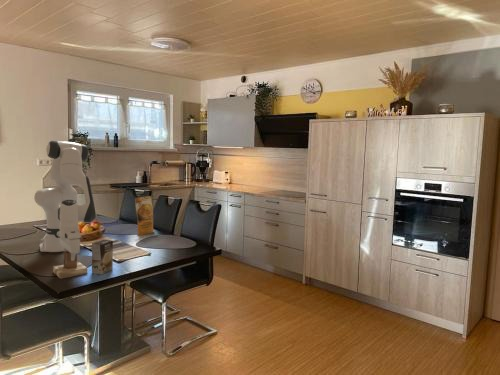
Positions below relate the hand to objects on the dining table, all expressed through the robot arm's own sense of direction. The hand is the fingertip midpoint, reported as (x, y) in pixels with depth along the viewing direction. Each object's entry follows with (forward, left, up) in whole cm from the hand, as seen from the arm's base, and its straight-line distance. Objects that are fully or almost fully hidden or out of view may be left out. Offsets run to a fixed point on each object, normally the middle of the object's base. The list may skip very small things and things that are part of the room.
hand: (69, 257), depth 192 cm
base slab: (0, 0, -8) cm, 8 cm away
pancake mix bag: (-55, +70, -8) cm, 89 cm away
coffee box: (+7, +14, -8) cm, 18 cm away
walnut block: (0, 0, -5) cm, 5 cm away
